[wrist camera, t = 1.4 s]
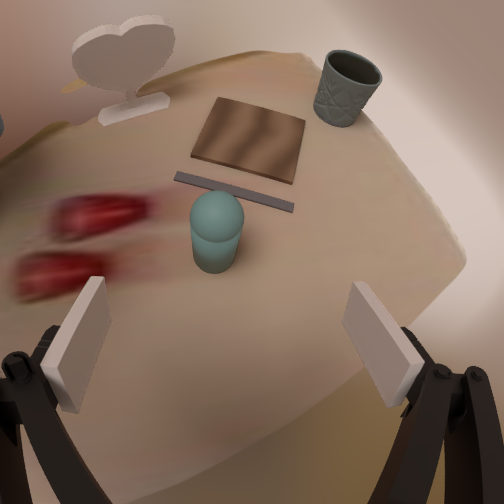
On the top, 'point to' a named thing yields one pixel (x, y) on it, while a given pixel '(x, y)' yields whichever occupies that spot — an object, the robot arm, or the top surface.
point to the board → (251, 140)
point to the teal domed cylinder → (215, 230)
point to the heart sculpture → (125, 63)
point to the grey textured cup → (345, 87)
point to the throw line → (234, 191)
